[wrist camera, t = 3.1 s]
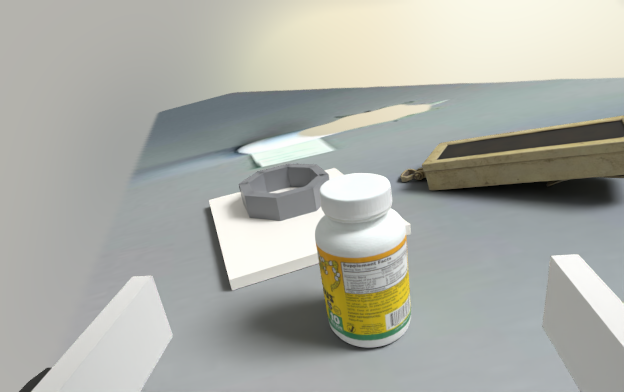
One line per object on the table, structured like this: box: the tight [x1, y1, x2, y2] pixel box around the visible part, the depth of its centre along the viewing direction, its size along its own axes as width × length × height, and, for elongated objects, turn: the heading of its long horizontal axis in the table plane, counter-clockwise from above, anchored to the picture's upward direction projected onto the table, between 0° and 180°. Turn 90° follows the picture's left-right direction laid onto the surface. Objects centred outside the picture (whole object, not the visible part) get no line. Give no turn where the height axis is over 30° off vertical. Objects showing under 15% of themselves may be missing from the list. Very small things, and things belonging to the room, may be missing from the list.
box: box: [400, 116, 624, 190], centre depth 41 cm, size 8×22×5 cm, turn 62°
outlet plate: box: [209, 164, 411, 290], centre depth 41 cm, size 18×16×4 cm
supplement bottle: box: [315, 173, 411, 348], centre depth 24 cm, size 5×5×10 cm
